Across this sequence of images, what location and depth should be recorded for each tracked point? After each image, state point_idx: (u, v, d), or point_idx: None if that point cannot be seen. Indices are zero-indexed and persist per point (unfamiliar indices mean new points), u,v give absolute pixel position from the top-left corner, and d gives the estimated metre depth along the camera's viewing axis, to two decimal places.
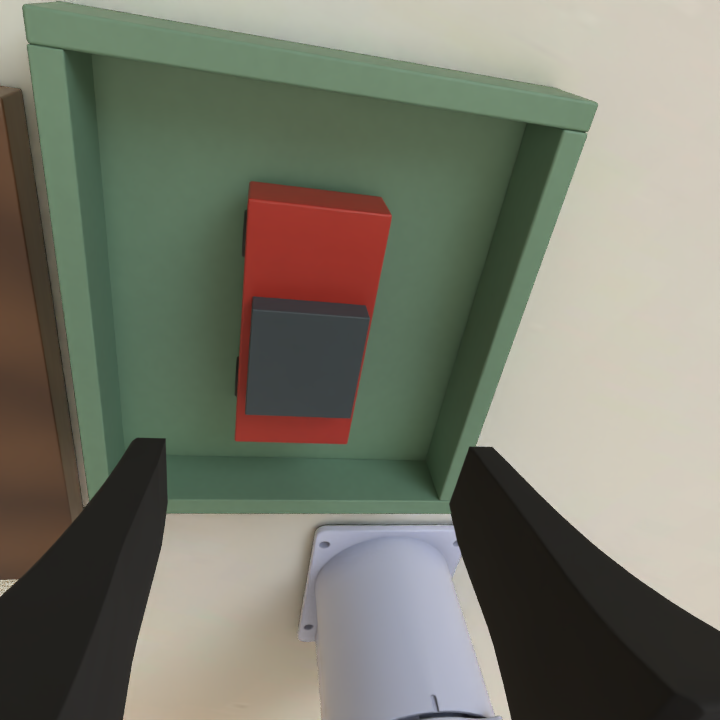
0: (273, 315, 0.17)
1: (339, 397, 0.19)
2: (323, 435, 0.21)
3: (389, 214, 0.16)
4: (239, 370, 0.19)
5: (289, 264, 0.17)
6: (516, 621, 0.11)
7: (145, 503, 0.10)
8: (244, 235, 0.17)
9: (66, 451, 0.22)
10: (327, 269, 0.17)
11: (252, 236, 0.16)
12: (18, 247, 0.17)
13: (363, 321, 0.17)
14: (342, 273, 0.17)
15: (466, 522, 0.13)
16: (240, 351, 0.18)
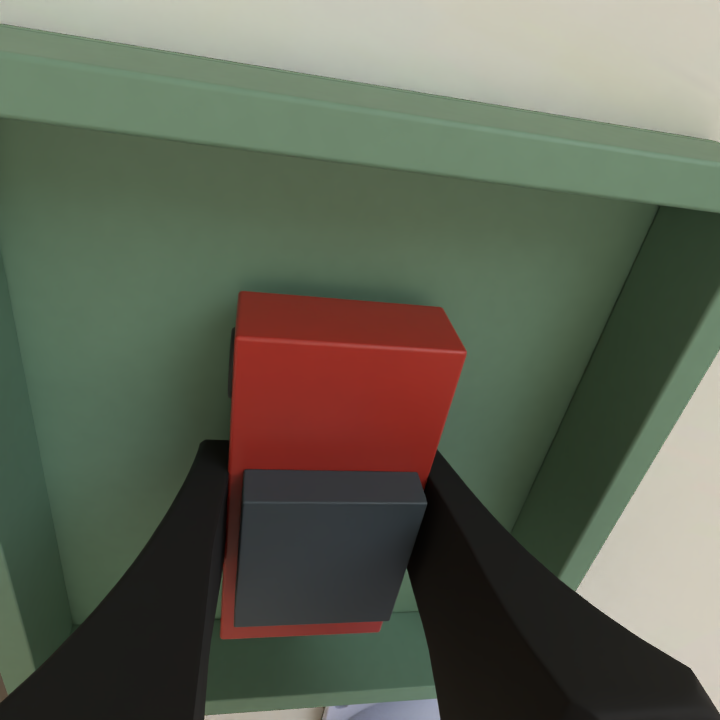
0: (276, 507, 0.10)
1: (374, 599, 0.13)
2: (347, 625, 0.15)
3: (463, 350, 0.10)
4: (225, 559, 0.12)
5: (302, 424, 0.11)
6: (446, 624, 0.11)
7: (223, 503, 0.11)
8: (231, 373, 0.11)
9: None
10: (362, 428, 0.11)
11: (242, 390, 0.10)
12: None
13: (417, 507, 0.11)
14: (384, 432, 0.11)
15: None
16: (226, 537, 0.12)
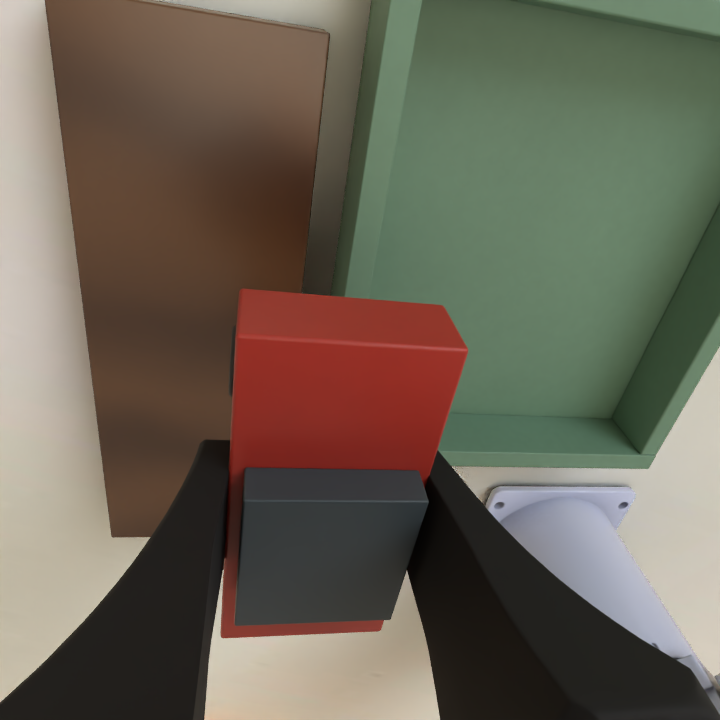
0: (277, 505, 0.10)
1: (376, 597, 0.12)
2: (348, 624, 0.15)
3: (464, 348, 0.10)
4: (226, 558, 0.12)
5: (303, 423, 0.11)
6: (446, 624, 0.11)
7: (223, 503, 0.11)
8: (232, 371, 0.11)
9: None
10: (363, 426, 0.11)
11: (243, 388, 0.10)
12: (306, 189, 0.17)
13: (418, 505, 0.11)
14: (385, 431, 0.11)
15: None
16: (227, 535, 0.12)
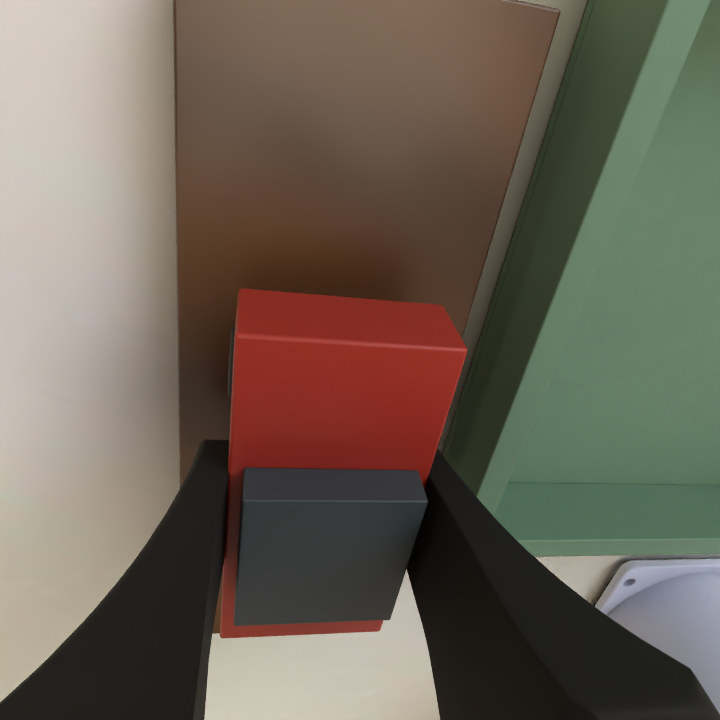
0: (276, 505, 0.10)
1: (375, 597, 0.12)
2: (347, 624, 0.15)
3: (463, 347, 0.10)
4: (225, 558, 0.12)
5: (302, 423, 0.11)
6: (446, 624, 0.11)
7: (223, 503, 0.11)
8: (231, 371, 0.11)
9: None
10: (362, 426, 0.11)
11: (242, 388, 0.10)
12: (488, 223, 0.13)
13: (417, 505, 0.11)
14: (384, 431, 0.11)
15: None
16: (226, 535, 0.12)
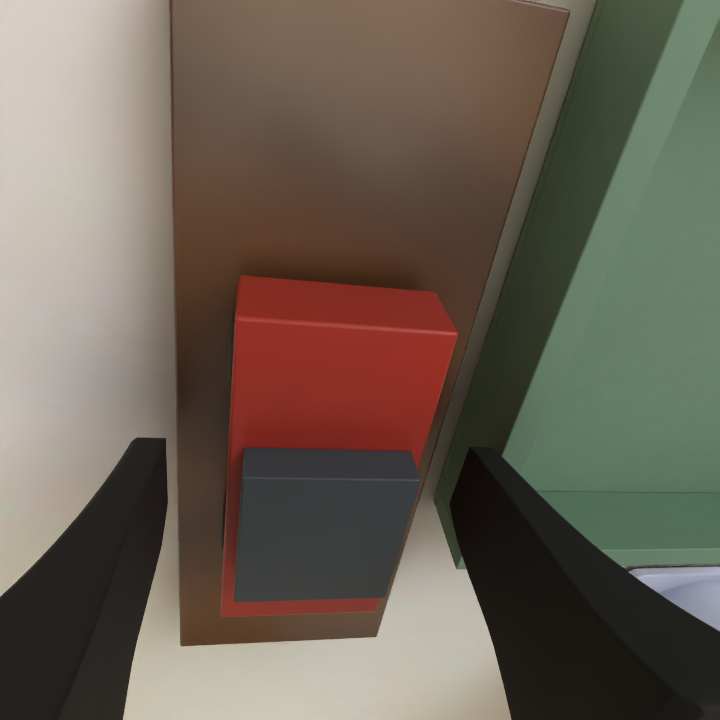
0: (275, 483, 0.11)
1: (370, 575, 0.13)
2: (344, 603, 0.15)
3: (454, 331, 0.11)
4: (225, 537, 0.13)
5: (299, 404, 0.11)
6: (516, 621, 0.11)
7: (145, 503, 0.10)
8: (231, 355, 0.11)
9: None
10: (357, 408, 0.11)
11: (242, 369, 0.10)
12: (494, 229, 0.12)
13: (410, 484, 0.11)
14: (379, 412, 0.11)
15: (466, 522, 0.13)
16: (226, 514, 0.12)
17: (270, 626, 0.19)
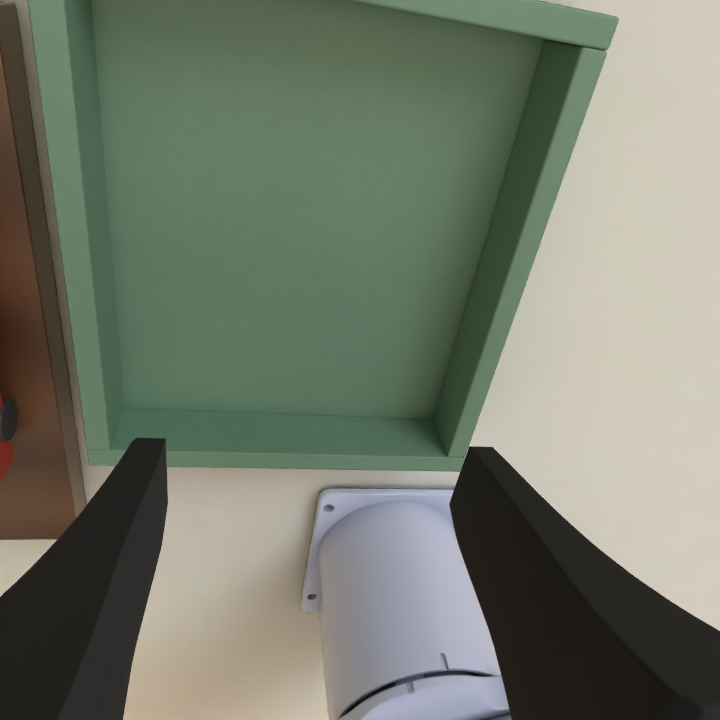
0: None
1: None
2: None
3: None
4: None
5: None
6: (516, 621, 0.11)
7: (145, 503, 0.10)
8: None
9: (63, 402, 0.21)
10: None
11: None
12: (12, 174, 0.16)
13: None
14: None
15: (466, 522, 0.13)
16: None
17: None
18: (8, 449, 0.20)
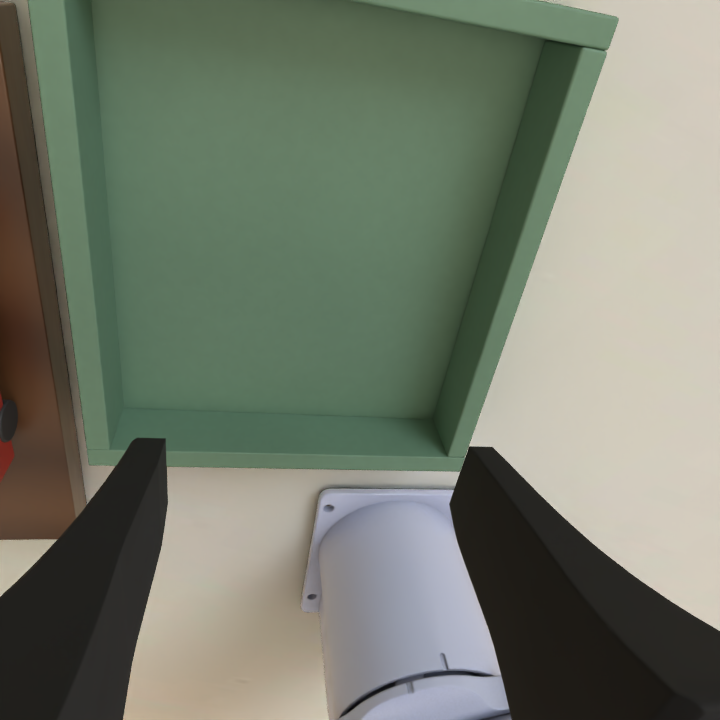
0: None
1: None
2: None
3: None
4: None
5: None
6: (516, 621, 0.11)
7: (145, 503, 0.10)
8: None
9: (63, 402, 0.21)
10: None
11: None
12: (12, 174, 0.16)
13: None
14: None
15: (466, 522, 0.13)
16: None
17: None
18: (8, 449, 0.20)
